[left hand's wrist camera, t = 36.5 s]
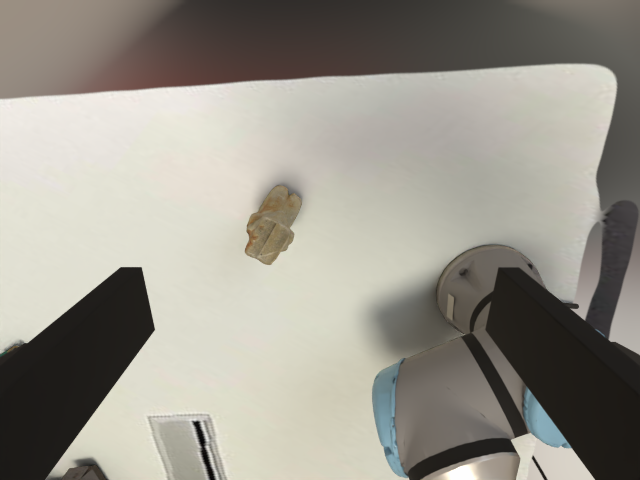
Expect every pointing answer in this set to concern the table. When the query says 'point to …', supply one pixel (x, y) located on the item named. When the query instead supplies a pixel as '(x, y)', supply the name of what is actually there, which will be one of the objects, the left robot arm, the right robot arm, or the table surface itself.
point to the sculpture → (272, 225)
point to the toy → (84, 473)
